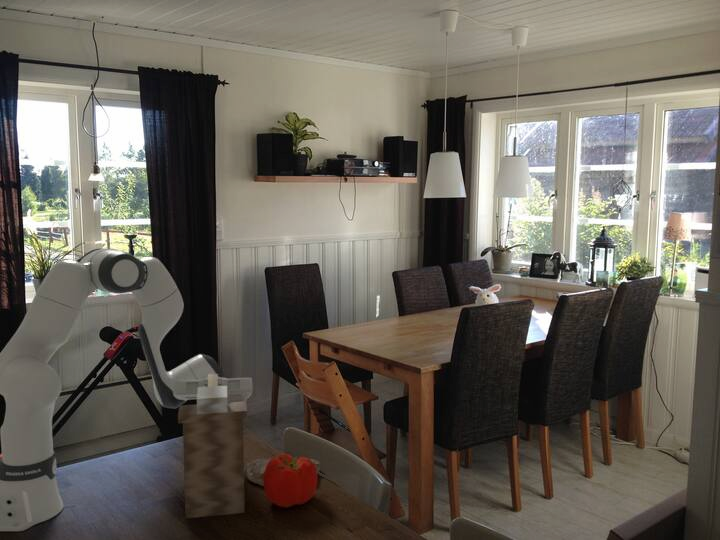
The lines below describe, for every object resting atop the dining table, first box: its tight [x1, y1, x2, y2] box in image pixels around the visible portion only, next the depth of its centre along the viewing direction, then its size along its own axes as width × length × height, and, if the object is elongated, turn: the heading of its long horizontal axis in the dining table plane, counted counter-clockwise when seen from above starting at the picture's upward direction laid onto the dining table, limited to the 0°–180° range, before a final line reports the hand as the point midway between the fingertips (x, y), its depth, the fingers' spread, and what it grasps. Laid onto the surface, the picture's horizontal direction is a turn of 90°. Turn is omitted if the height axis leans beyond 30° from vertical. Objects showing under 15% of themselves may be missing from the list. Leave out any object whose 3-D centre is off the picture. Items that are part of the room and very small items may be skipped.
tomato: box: [263, 453, 319, 508], centre depth 167 cm, size 13×14×12 cm
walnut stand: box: [177, 400, 248, 519], centre depth 161 cm, size 16×7×26 cm, turn 102°
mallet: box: [196, 374, 228, 414], centre depth 163 cm, size 7×16×4 cm, turn 12°
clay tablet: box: [244, 457, 321, 487], centre depth 181 cm, size 14×5×20 cm
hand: (212, 381), depth 166 cm, fingers closed on mallet, 2 cm apart
